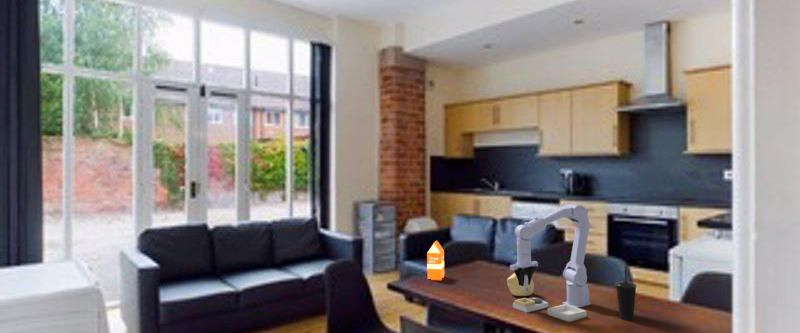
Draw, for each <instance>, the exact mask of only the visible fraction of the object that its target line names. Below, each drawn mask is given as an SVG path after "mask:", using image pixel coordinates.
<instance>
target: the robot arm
mask: <svg viewBox="0 0 800 333" xmlns="http://www.w3.org/2000/svg"><path fill="white" fill-rule="evenodd" d="M588 215H589V211H588V209H587V208H586V207H585V206H583V205H581V204H573V203H566V204H564V205H561V206H560V207H558V208H557V209H555V210H554V211H552V212H550V213H549V214H546V215H545V216H543V217H541V216H535V217H533V219H532V220H530V221H526V222H524V224H519V225H517V226H516V227H515V230H514V235H515V237H516V256H517V259H516V262H515V263H514V264H513V263H512V264H510V265H509V270H510V271H513V273H515V274H516V276H517V279H518V283H519V285H520V286H524V276H525V274H528V285H530V282H531V278H532V277H533V275H534V273H535V271H536V268H535V267H538V266H539V262H538V261H536V260H534V261H533V260H532V248H531V246H532V244H531V239H532V238H533V236H534V235H536V234H537V233H539V232H542V231H544V230H545V229H547V226H548V225H549V224H551V223H553V222H556V221H558V220H560V219H562V218H564V219H569V220H570V221H571V222H572V223H573V225H574V226H575V230H574V236H573V243H572V250H571V255H570V260H569V262H568V263H566V266H565V268H564V270H563V273H562V275H563V276H562V277H563V278H564V279H565V281H566V282H565V283H566V301H563V302H562V303H561V304H562V305H563V304H567V305H570V306H573V307H576V308H579V309H580V308H582V307H586V306H589V305H591V304H592V303H591V302H590V288H589V286H588V284H586V283H587V280H588V276H587V275H588V274H587V268H586V266H585V264H584V262H585V256H586V250H587V249H586V248H587V245H588V237H589V232H590V231H589V230H590V220H589V216H588ZM532 279H533V278H532Z"/></svg>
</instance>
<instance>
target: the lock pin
mask: <svg viewBox="0 0 800 333" xmlns="http://www.w3.org/2000/svg"><path fill="white" fill-rule="evenodd" d="M521 291H524V292H527V291H528V274H525V276H524V286H521Z"/></svg>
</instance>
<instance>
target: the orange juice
mask: <svg viewBox="0 0 800 333" xmlns="http://www.w3.org/2000/svg"><path fill="white" fill-rule="evenodd" d="M426 257H427V258H426V261H427V262H426V266H427V267H426V269H427V280H428V279H431V280H430V281H442V280H443V279H444V277H445V251H444V249H443V247H442V245H441V244H440V242H439V241H438V240H436V241H434V242H433V244H432V245H431V247H430V248H429V250H428V251H427V253H426ZM442 278H443V279H442Z"/></svg>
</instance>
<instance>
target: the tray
mask: <svg viewBox="0 0 800 333" xmlns="http://www.w3.org/2000/svg"><path fill="white" fill-rule="evenodd" d="M547 316H550V317H553V318H556V319H559V320H561V321H564V322H567V323H570V322H571V323H572V322H574V321H578V320H580V319H581V320H582V319H584V318H587V310H586V309H583V308H580V307H579V308H576V307H573V306H570V305H567V304H563V303H562V304H560V305H556V306H552V307H547Z"/></svg>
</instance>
